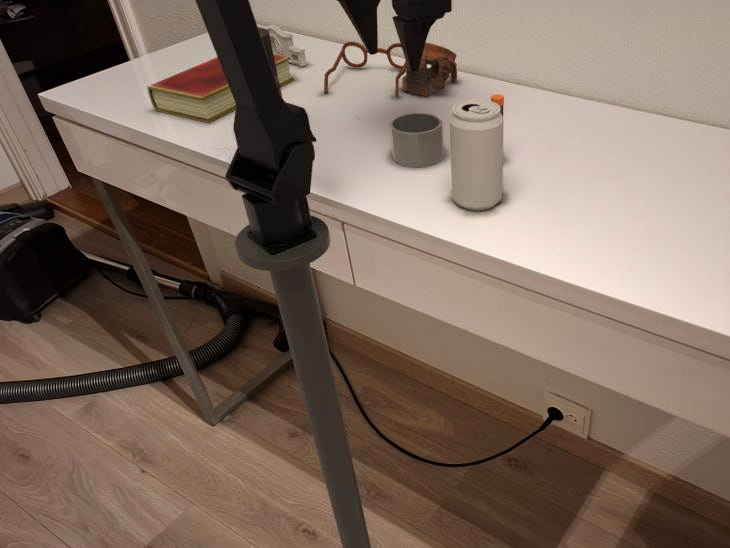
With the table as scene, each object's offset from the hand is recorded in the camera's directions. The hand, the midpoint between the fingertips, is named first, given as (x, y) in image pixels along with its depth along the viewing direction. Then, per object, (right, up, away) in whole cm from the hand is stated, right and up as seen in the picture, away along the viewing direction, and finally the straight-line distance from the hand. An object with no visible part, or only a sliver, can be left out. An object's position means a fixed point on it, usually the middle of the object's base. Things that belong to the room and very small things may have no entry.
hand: (393, 62), depth 87 cm
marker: (+14, -11, +7) cm, 19 cm away
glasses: (-8, +10, +31) cm, 33 cm away
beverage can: (+11, -19, -2) cm, 22 cm away
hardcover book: (-32, +6, +27) cm, 42 cm away
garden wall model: (-26, +18, +40) cm, 51 cm away
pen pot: (+2, -10, +8) cm, 13 cm away
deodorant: (-20, -6, +13) cm, 24 cm away
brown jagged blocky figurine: (+3, +8, +28) cm, 29 cm away
